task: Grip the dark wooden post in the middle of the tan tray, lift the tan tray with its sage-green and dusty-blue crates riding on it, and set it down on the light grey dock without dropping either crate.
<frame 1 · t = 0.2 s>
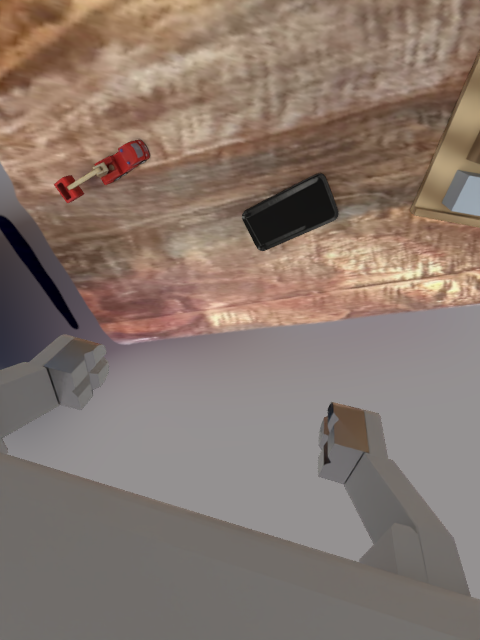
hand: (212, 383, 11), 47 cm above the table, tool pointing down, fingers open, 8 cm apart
phone: (289, 214, 54), on the table
toy fire truck: (120, 165, 56), on the table
blue crate: (465, 189, 45), point 1 cm above the table, touching tan tray
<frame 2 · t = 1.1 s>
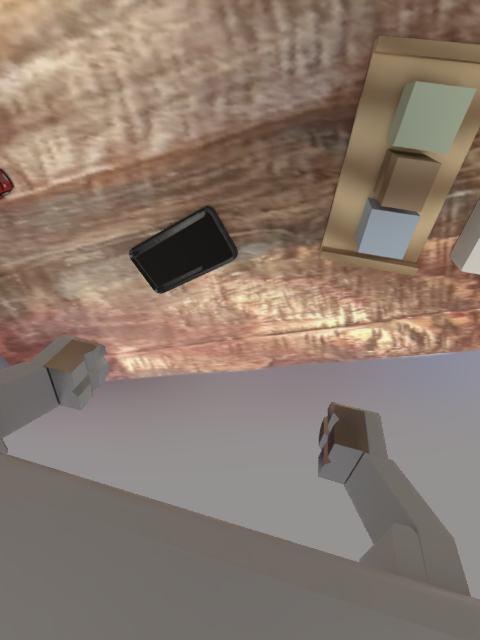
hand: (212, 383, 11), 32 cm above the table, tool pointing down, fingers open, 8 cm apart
phone: (183, 251, 45), on the table
sage crate: (420, 117, 29), point 1 cm above the table
tan tray: (394, 169, 34), on the table, touching blue crate
blue crate: (381, 221, 35), point 1 cm above the table, touching tan tray
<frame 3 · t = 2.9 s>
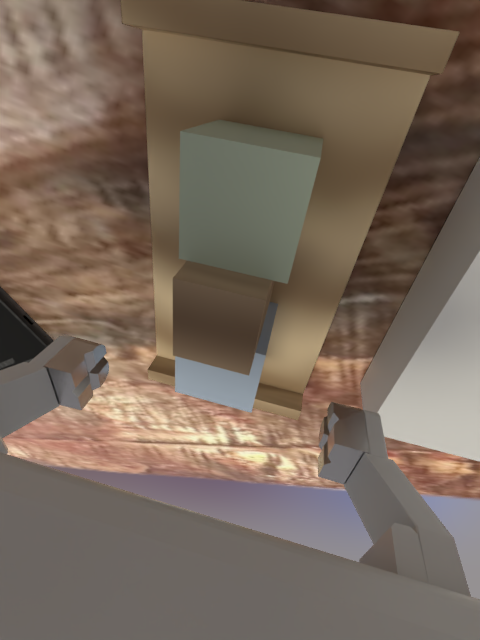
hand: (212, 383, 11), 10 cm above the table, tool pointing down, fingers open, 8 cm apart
sage crate: (261, 184, 15), point 1 cm above the table, touching tan tray
tan tray: (252, 249, 19), on the table, touching blue crate, sage crate
blue crate: (236, 324, 20), point 1 cm above the table, touching tan tray
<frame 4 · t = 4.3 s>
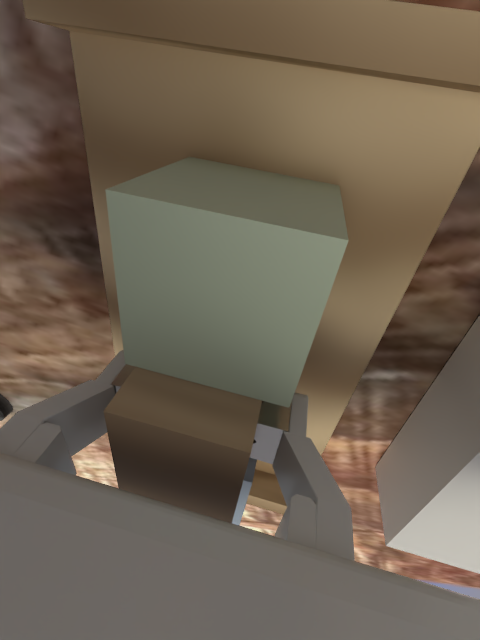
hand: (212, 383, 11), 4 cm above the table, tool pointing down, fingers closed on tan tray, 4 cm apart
sage crate: (250, 243, 11), point 2 cm above the table, touching tan tray
tan tray: (240, 313, 15), on the table, touching blue crate, gripper, sage crate
blue crate: (218, 404, 16), point 2 cm above the table, touching tan tray
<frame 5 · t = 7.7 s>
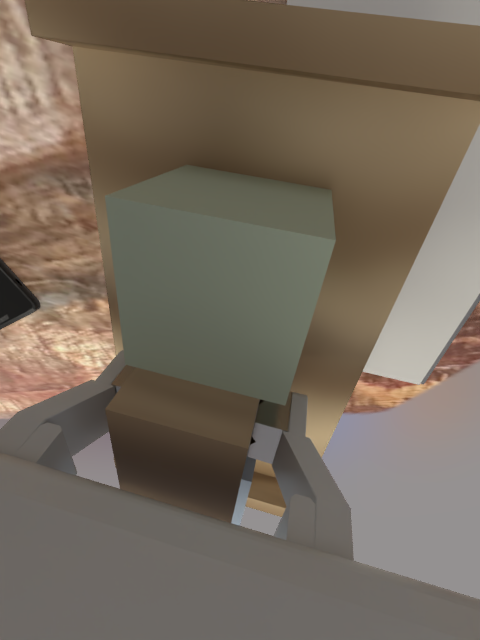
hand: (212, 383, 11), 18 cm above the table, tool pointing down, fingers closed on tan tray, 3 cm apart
dock: (368, 215, 24), on the table
sage crate: (247, 246, 11), point 16 cm above the table, touching tan tray
tan tray: (240, 316, 15), point 14 cm above the table, touching blue crate, gripper, sage crate
blue crate: (218, 406, 16), point 16 cm above the table, touching tan tray
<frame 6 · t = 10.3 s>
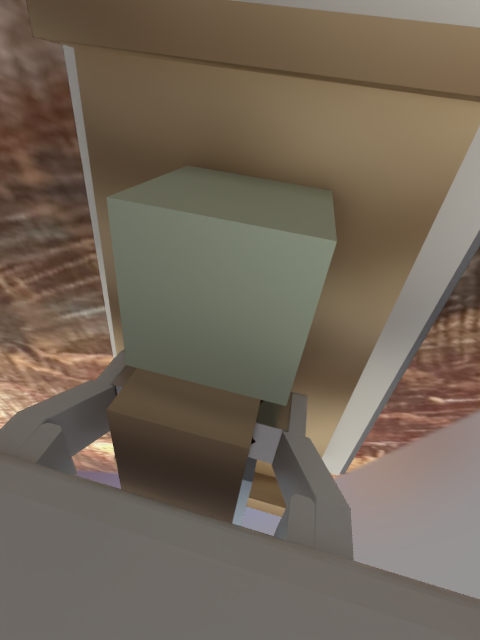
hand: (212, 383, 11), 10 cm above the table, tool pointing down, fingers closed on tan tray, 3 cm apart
dock: (261, 270, 19), on the table
sage crate: (248, 247, 11), point 7 cm above the table, touching tan tray
tan tray: (240, 316, 15), point 5 cm above the table, touching blue crate, gripper, sage crate
blue crate: (219, 406, 16), point 7 cm above the table, touching tan tray
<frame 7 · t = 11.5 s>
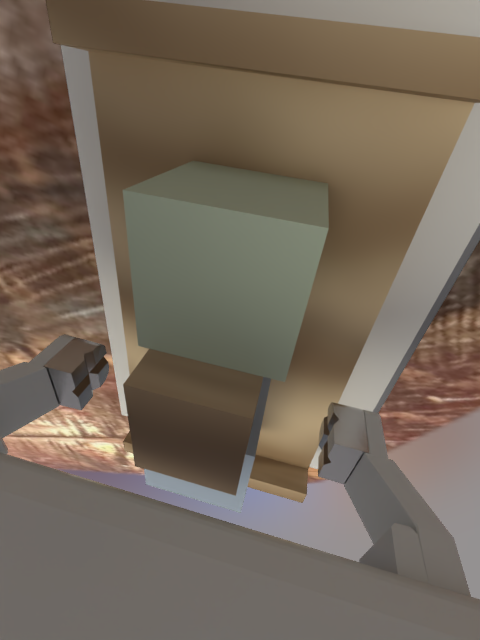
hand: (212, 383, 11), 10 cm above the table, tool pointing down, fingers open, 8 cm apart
dock: (259, 269, 19), on the table
sage crate: (249, 237, 12), point 6 cm above the table, touching tan tray
tan tray: (243, 305, 16), point 4 cm above the table, touching blue crate, dock, sage crate
blue crate: (223, 391, 17), point 6 cm above the table, touching tan tray
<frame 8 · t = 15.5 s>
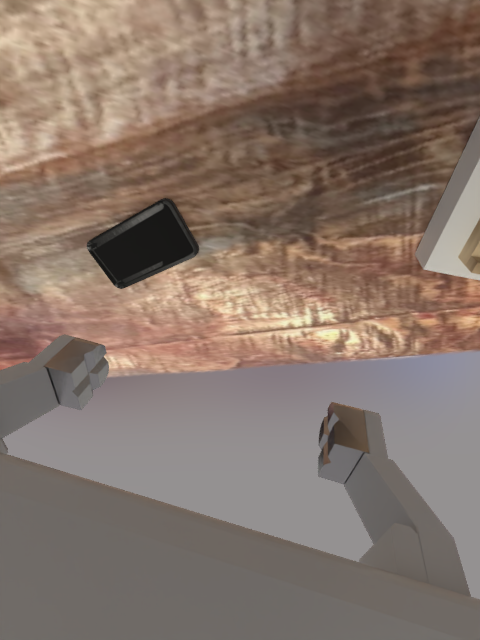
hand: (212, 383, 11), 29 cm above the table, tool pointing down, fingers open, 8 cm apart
phone: (144, 245, 43), on the table
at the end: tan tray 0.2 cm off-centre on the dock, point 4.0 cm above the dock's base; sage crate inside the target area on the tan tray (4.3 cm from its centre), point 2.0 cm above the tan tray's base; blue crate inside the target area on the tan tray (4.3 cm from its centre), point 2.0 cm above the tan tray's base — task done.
